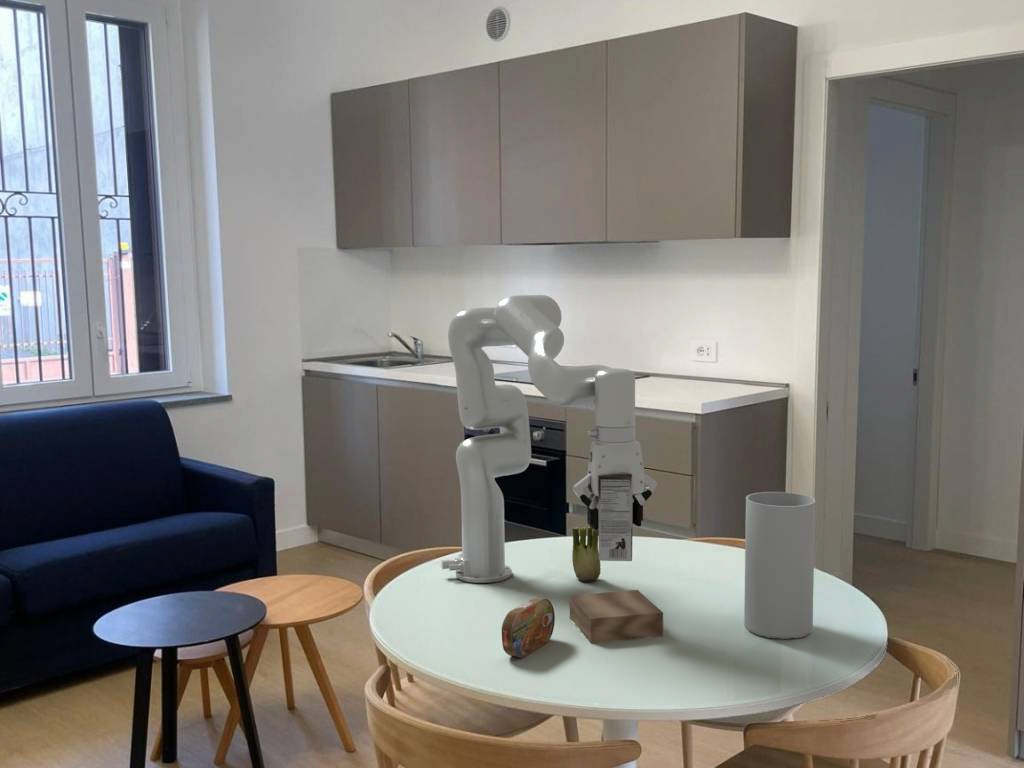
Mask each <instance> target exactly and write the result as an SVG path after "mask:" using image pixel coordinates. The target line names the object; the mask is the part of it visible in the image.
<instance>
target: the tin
mask: <svg viewBox="0 0 1024 768" xmlns="http://www.w3.org/2000/svg"><path fill="white" fill-rule="evenodd" d="M555 617H556V615H555V608H554V606H553V603H552V602H551V601H550V600H549V599H547V598H536V597H535V598H531V599H529V600H527V601H526V602H524V603H522V604H520V605H519V606H517V607H515V608H513V609H512V610H510V611H509V612H507V614H506V616H505V618H504V619H503V621H502V624H501V645H502V648H503V651H504V652H505V653H506V655H508V656H509V657H510V656H511V657H517V658H520V659H524V658H526V657H528V656H529V655H531V654H532V653H534V652H535V651H538V649H540V648H541V647H543V646H544V645H546V644H547V643H549V641H550V640H551V637H552V635H553V632H554V628H555V622H556V621H555V620H556V619H555Z"/></svg>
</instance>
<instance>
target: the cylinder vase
mask: <svg viewBox="0 0 1024 768" xmlns="http://www.w3.org/2000/svg"><path fill="white" fill-rule="evenodd" d="M815 526H816V499H815V498H814V497H812V496H809V495H806V494H802V493H801V494H800V493H795V492H788V491H787V492H785V491H764V492H755V493H749V494H748V495H746V496H745V536H744V537H745V539H744V540H745V543H744V601H743V602H744V603H743V604H744V606H743V607H744V608H743V609H744V612H743V614H744V617H743V623H744V626H745V628H746V629H747V630H748V631H750V632H751V633H753V634H754V635H757V636H760V637H763V636H765V637H764V638H768V637H770V638H769V639H774V638H780V639H779V640H791V639H790V638H795V639H799V638H798V637H800V638H803V636H804V637H806V636H808V635H809V634H810V633H811V632H812V630H813V624H814V623H813V621H814V582H815V581H814V579H815V577H814V575H815V573H814V572H815V570H814V569H815V534H816V533H815V531H816V530H815V529H816V527H815ZM788 638H789V639H788Z"/></svg>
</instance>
